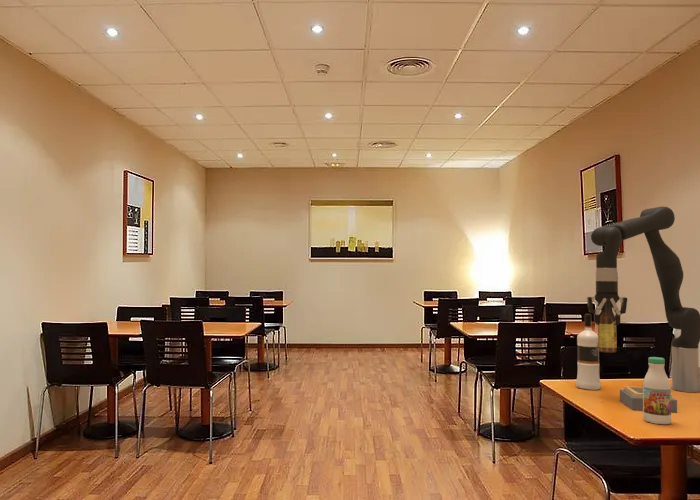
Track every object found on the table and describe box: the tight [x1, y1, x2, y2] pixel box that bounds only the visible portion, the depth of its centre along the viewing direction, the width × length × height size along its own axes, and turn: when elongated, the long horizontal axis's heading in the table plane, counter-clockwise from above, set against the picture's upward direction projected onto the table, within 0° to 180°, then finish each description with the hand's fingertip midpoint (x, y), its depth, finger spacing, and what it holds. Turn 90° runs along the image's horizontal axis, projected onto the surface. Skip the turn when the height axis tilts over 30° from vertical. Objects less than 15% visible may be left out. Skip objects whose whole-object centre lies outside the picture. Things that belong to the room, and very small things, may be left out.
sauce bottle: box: [597, 299, 618, 354], centre depth 205 cm, size 7×6×20 cm
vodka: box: [575, 313, 602, 391], centre depth 223 cm, size 9×9×30 cm
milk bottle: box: [642, 356, 672, 425], centre depth 173 cm, size 8×8×20 cm
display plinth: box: [619, 385, 678, 413], centre depth 193 cm, size 14×14×6 cm
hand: (607, 324), depth 205 cm, fingers closed on sauce bottle, 6 cm apart
